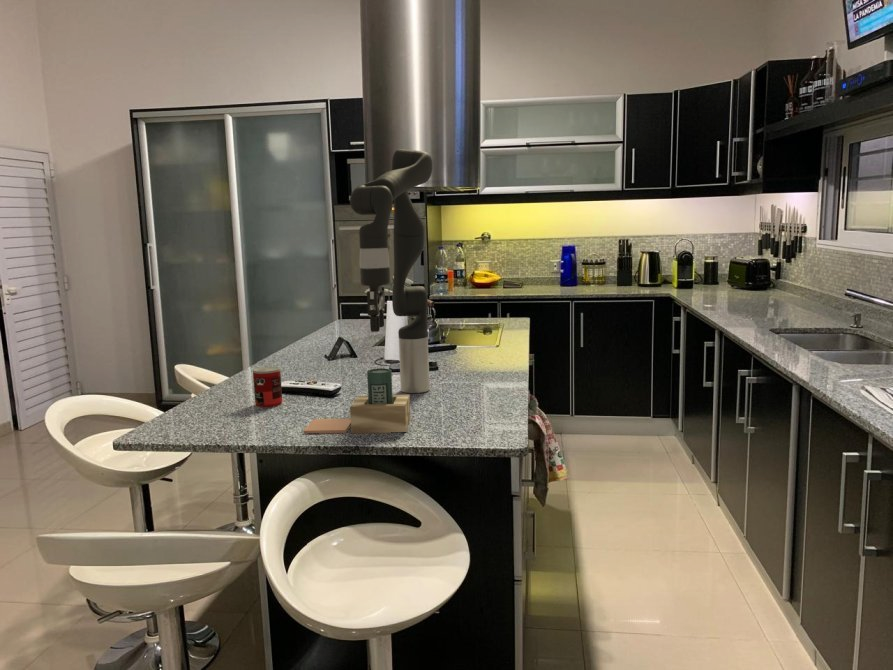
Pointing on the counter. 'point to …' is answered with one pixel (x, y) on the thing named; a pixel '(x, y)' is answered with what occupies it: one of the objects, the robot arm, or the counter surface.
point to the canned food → (267, 386)
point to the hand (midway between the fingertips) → (377, 329)
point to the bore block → (380, 415)
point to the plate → (328, 426)
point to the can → (380, 386)
